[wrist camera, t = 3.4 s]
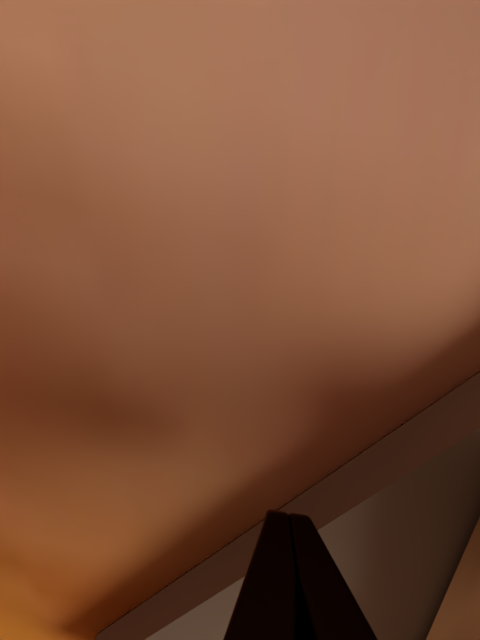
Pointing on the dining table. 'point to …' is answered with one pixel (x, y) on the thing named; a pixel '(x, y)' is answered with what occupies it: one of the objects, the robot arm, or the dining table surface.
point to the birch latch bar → (461, 598)
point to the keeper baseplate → (357, 533)
